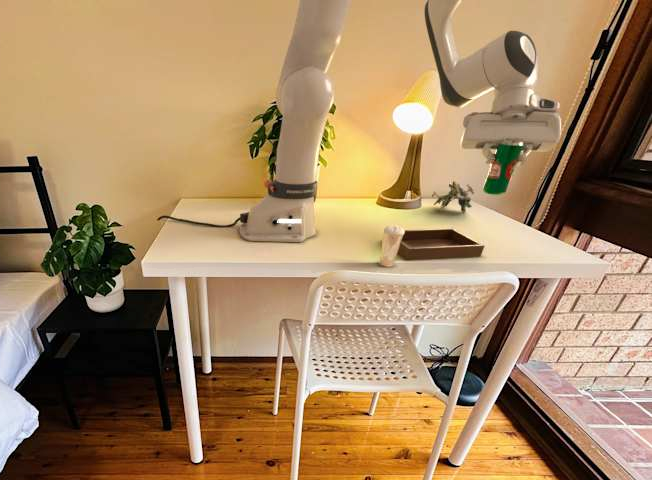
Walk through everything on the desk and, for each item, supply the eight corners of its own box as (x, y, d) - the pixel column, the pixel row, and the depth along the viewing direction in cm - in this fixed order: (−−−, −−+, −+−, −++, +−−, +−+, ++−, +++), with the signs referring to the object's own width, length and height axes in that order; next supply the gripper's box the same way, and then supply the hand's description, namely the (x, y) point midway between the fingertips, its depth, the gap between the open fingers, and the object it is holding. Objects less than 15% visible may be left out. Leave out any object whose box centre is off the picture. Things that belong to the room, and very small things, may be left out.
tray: (406, 260, 91) (409, 249, 89) (382, 241, 102) (385, 231, 101) (480, 256, 93) (485, 245, 91) (449, 238, 104) (452, 228, 102)
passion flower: (456, 228, 128) (483, 204, 117) (427, 222, 127) (451, 198, 116) (452, 202, 132) (478, 177, 121) (424, 196, 131) (447, 170, 120)
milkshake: (375, 267, 87) (384, 225, 82) (376, 259, 92) (386, 218, 86) (395, 270, 86) (406, 227, 80) (396, 262, 90) (406, 220, 84)
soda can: (478, 190, 96) (496, 138, 89) (498, 190, 95) (517, 137, 89) (488, 195, 91) (508, 140, 85) (509, 195, 91) (530, 140, 84)
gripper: (469, 102, 91) (461, 152, 89) (568, 102, 85) (562, 155, 83) (460, 122, 97) (453, 169, 95) (552, 123, 91) (546, 173, 89)
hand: (505, 163), depth 89 cm, fingers closed on soda can, 5 cm apart
